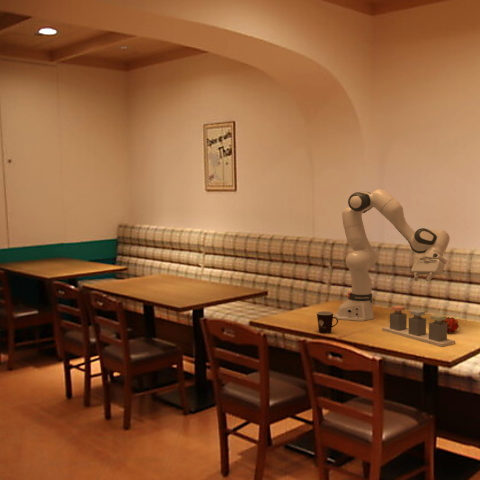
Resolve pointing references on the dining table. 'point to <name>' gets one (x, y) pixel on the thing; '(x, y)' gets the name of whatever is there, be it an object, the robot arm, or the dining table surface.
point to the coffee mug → (325, 321)
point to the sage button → (438, 318)
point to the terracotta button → (398, 309)
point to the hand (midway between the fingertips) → (421, 280)
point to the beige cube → (417, 313)
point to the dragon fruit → (451, 324)
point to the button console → (419, 330)
